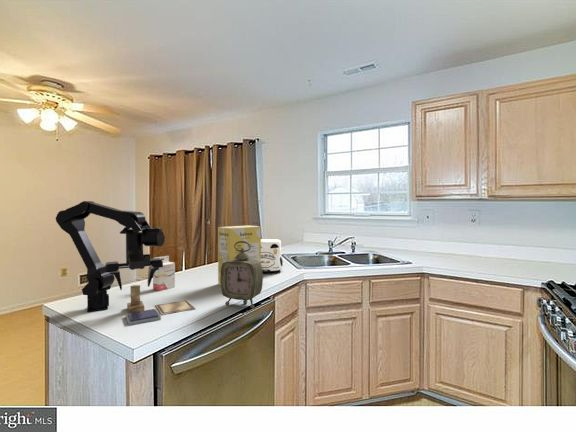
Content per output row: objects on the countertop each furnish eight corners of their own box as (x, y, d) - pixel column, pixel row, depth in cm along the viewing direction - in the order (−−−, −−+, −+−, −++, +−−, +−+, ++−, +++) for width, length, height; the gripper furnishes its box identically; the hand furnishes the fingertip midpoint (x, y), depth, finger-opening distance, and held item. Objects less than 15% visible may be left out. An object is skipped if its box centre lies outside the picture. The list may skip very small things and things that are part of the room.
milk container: (260, 275, 174) (260, 243, 173) (248, 270, 189) (248, 239, 188) (288, 272, 182) (288, 241, 182) (274, 267, 198) (274, 238, 197)
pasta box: (248, 278, 168) (248, 225, 167) (260, 281, 161) (260, 226, 160) (218, 284, 156) (217, 227, 155) (230, 288, 148) (230, 228, 147)
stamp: (129, 313, 114) (128, 289, 113) (127, 308, 119) (126, 285, 119) (144, 311, 116) (144, 287, 116) (141, 306, 122) (141, 283, 122)
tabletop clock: (220, 306, 121) (220, 241, 120) (232, 299, 130) (231, 239, 129) (255, 310, 117) (254, 243, 116) (264, 303, 125) (264, 240, 124)
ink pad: (128, 325, 103) (127, 321, 102) (125, 316, 110) (125, 312, 110) (160, 319, 108) (160, 315, 108) (156, 311, 115) (156, 308, 115)
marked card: (161, 315, 112) (161, 313, 112) (155, 305, 122) (155, 304, 122) (195, 309, 119) (195, 308, 119) (187, 300, 129) (187, 299, 129)
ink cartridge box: (159, 291, 143) (158, 258, 142) (152, 289, 146) (152, 257, 145) (175, 287, 150) (175, 256, 149) (169, 285, 153) (168, 255, 152)
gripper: (106, 250, 105) (107, 297, 106) (165, 246, 115) (166, 289, 116) (105, 246, 115) (105, 289, 115) (159, 243, 125) (160, 283, 125)
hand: (135, 288), depth 118 cm, fingers open, 9 cm apart
